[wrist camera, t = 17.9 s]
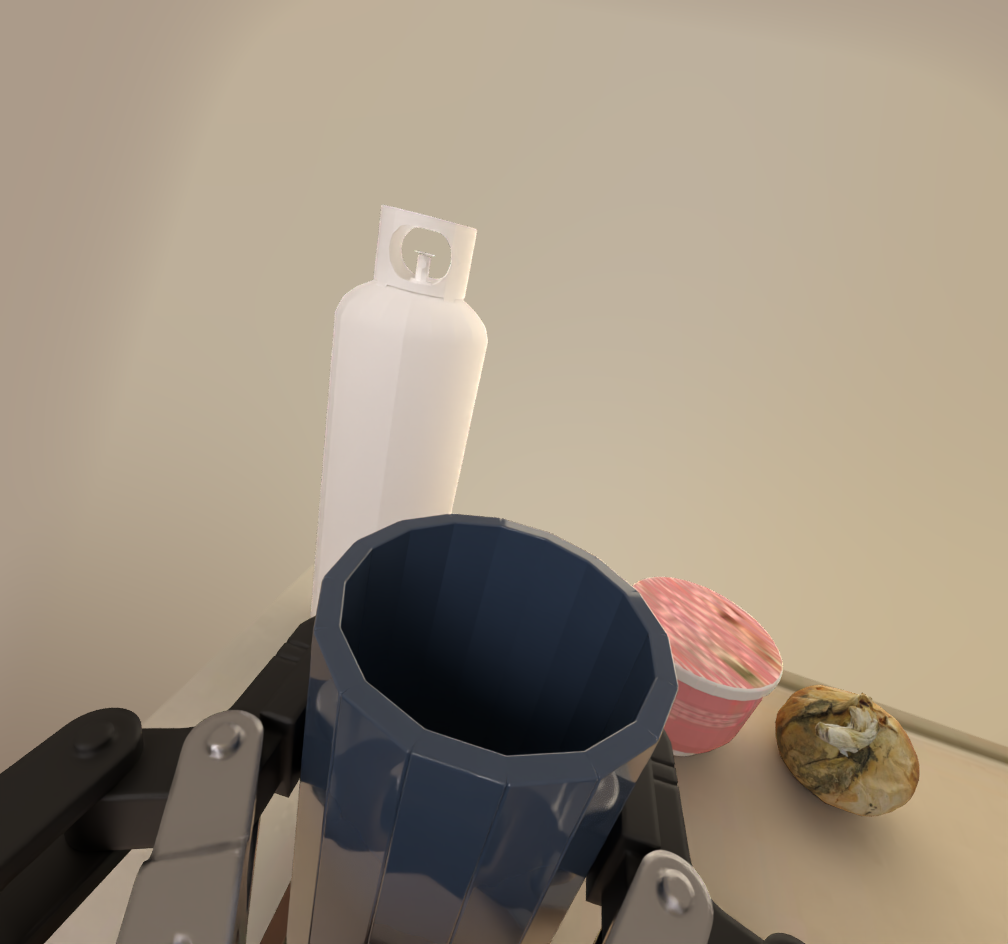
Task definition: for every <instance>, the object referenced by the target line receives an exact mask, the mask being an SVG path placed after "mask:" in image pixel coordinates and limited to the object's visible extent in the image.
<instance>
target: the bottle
mask: <svg viewBox="0 0 1008 944" xmlns="http://www.w3.org/2000/svg"><path fill="white" fill-rule="evenodd" d="M417 227H420V228H424V229H428V230H432V231H436V232H439V233H441V234H442V235H443V236H445V237H446V239H447V241H448V244H449V246H450V248H451V263H450V266H449V269H448V271H447V274H446V275H445V276H444V277H442V278H439V279H436V278H430V277H428V275H429V268H430V261H431V257H428V256H426V255H430V256H435V255H433V254H429V253H426V252H421V251H415V252H418V253H420V254H423V255H420V254H418V259H417V266H416V273H413V272H411V271H410V270H409V269H408V268H407V266H406V264H405V262H404V260H403V258H402V248H401V246H402V243H403V240H404V237H405V235H406V234H407V233H408V232H409V231H410V230H411V229H412V228H417ZM476 234H477V229H475V228H472V227H468V226H465V225H461V224H458V223H454V222H450V221H447V220H443V219H439V218H435V217H431V216H428V215H424V214H420V213H416V212H412V211H408V210H404V209H400V208H396V207H391V206H386V205H381V214H380V223H379V232H378V241H377V250H376V259H375V270H374V280H372V281H369V282H366V283H364V284H361V285H358V286H356V287H355V288H354V289H352V290H350V291H349V292H348V293H346V294H345V295H344V296H343V298H342V299H341V301H340V303H339V305H338V306H337V308H336V310H335V319H334V331H333V344H332V356H331V368H330V381H329V394H328V405H327V418H326V431H325V443H324V455H323V467H322V479H321V492H320V505H319V516H318V529H317V541H316V553H315V566H314V578H313V590H312V603H311V618H312V617H314V616H315V615H316V611H317V605H318V600H319V594H320V589H321V583H322V580H323V578H324V576H325V575H326V574H327V572H328V571H329V570H330V569H331V568H332V567H333V566H334V565H335V563H336V562H337V561H338V560H339V559H340V558H341V557H342V556H343V554H344V553H345V552H346V551H347V550H348V549H349V548H350V547H351V546H352V544H353V543H354V542H356V541H357V540H359V539H361V538H363V537H365V536H367V535H369V534H372V533H374V532H376V531H378V530H380V529H382V528H385V527H387V526H389V525H391V524H393V523H396V522H398V521H401V520H406V519H414V518H421V517H428V516H435V515H442V514H451V512H452V507H453V503H454V498H455V493H456V489H457V484H458V480H459V475H460V470H461V466H462V461H463V456H464V451H465V447H466V442H467V437H468V433H469V428H470V423H471V418H472V414H473V409H474V404H475V399H476V395H477V390H478V385H479V381H480V376H481V371H482V367H483V362H484V357H485V353H486V347H487V343H488V338H487V333H486V328H485V325H484V324H483V322H482V321H481V319H480V318H479V316H478V315H477V313H476V312H475V311H474V310H473V309H472V308H471V307H470V306H469V305H468V304H467V303H466V302H465V301H464V300H463V299H464V298H465V293H466V288H467V282H468V277H469V272H470V266H471V261H472V255H473V250H474V245H475V239H476Z"/></svg>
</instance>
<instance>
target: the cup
mask: <svg viewBox="0 0 1008 944" xmlns="http://www.w3.org/2000/svg"><path fill="white" fill-rule="evenodd" d="M677 693H678V681H677V676H676V671H675V666H674V661H673V656H672V651H671V646H670V641H669V637H668V635H667V633H666V631H665V630H664V628H663V627H662V625H661V624H660V622H659V621H658V619H657V618H656V616H655V615H654V613H653V612H652V611H651V609H650V608H649V606H648V605H647V603H646V602H645V600H644V599H643V597H642V596H641V594H640V593H639V592H638V591H637V590H636V589H635V588H634V587H633V586H632V585H630V584H629V583H628V582H627V581H626V580H624V579H623V578H622V577H621V576H620V575H618V574H617V573H616V572H615V571H614V570H612V569H611V568H610V567H609V566H607V564H605V563H604V562H603V561H602V560H601V559H599V558H597V557H596V556H594V555H593V554H591V553H588V552H587V551H585V550H583V549H581V548H579V547H577V546H575V545H574V544H572V543H570V542H568V541H566V540H564V539H562V538H560V537H558V536H556V535H554V534H552V533H550V532H547V531H543V530H540V529H537V528H533V527H530V526H526V525H523V524H519V523H516V522H513V521H509V520H506V519H500V518H496V517H484V516H473V515H461V514H442V515H435V516H428V517H421V518H414V519H406V520H401V521H398V522H396V523H393V524H391V525H389V526H387V527H385V528H382V529H380V530H378V531H376V532H374V533H372V534H369V535H367V536H365V537H363V538H361V539H359V540H357V541H356V542H354V543H353V544H352V546H351V547H350V548H349V549H348V550H347V551H346V552H345V553H344V554H343V556H342V557H341V558H340V559H339V560H338V561H337V562H336V563H335V565H334V566H333V567H332V568H331V569H330V570H329V571H328V572H327V574H326V575H325V576H324V578H323V580H322V583H321V589H320V594H319V600H318V605H317V611H316V616H315V622H314V627H313V637H312V648H311V660H310V671H309V683H308V694H307V706H306V717H305V729H304V740H303V752H302V763H301V775H300V786H299V798H298V809H297V821H296V832H295V844H294V855H293V867H292V878H291V890H290V901H289V913H288V924H287V936H286V938H287V942H286V943H287V944H550V943H551V941H552V939H553V937H554V935H555V933H556V932H557V930H558V928H559V926H560V924H561V922H562V920H563V919H564V917H565V915H566V913H567V911H568V909H569V907H570V905H571V904H572V902H573V900H574V898H575V896H576V894H577V892H578V891H579V889H580V887H581V885H582V883H583V881H584V879H585V878H586V876H587V874H588V872H589V870H590V868H591V866H592V865H593V863H594V861H595V859H596V857H597V855H598V853H599V851H600V850H601V848H602V846H603V844H604V842H605V840H606V838H607V837H608V835H609V833H610V831H611V829H612V827H613V825H614V824H615V822H616V820H617V818H618V816H619V814H620V812H621V811H622V809H623V807H624V805H625V803H626V801H627V799H628V797H629V796H630V794H631V792H632V790H633V788H634V786H635V784H636V783H637V781H638V779H639V777H640V775H641V773H642V771H643V770H644V768H645V766H646V764H647V762H648V760H649V758H650V757H651V755H652V753H653V751H654V749H655V747H656V745H657V743H658V742H659V740H660V737H661V735H662V732H663V729H664V727H665V724H666V722H667V719H668V716H669V714H670V711H671V709H672V706H673V703H674V701H675V698H676V696H677Z"/></svg>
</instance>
